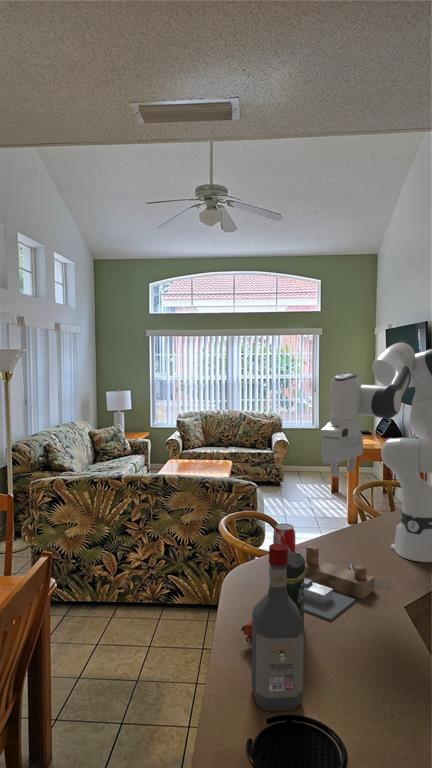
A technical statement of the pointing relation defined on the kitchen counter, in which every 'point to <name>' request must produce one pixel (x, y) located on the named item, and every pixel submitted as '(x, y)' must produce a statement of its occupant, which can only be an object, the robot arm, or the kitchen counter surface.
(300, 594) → the coffee jar
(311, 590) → the lever cap
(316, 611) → the rubber mat
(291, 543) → the soda can
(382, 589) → the kitchen counter surface
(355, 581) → the hand plane
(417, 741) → the kitchen counter surface
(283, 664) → the liquor
